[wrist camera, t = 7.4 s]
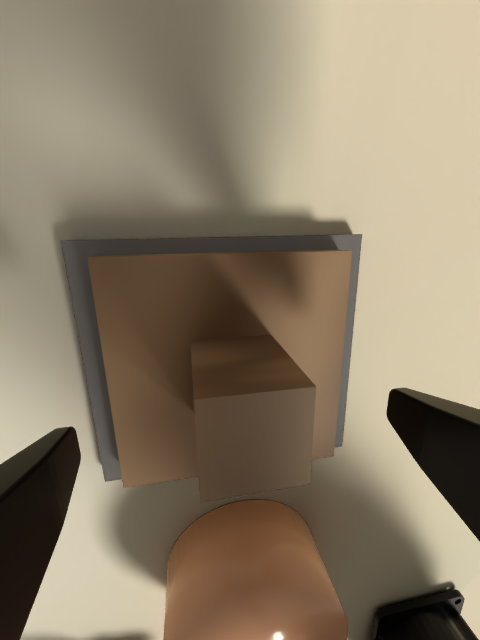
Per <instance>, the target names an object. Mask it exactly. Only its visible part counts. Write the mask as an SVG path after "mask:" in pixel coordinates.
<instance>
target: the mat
mask: <svg viewBox="0 0 480 640" xmlns="http://www.w3.org/2000/svg"><path fill="white" fill-rule="evenodd" d="M361 240H362V234H352V235H304V236H257V237H209V238H161V239H113V240H67V241H61V244H62V250H63V255H64V260H65V266H66V271H67V277H68V282H69V288H70V293H71V299H72V304H73V310H74V315H75V321H76V326H77V332H78V337H79V342H80V348H81V353H82V359H83V364H84V370H85V375H86V381H87V386H88V392H89V397H90V403H91V408H92V414H93V419H94V424H95V430H96V435H97V441H98V446H99V452H100V457H101V463H102V468H103V474H104V479H105V482H106V481H113V480H119V479H122V475H121V468H120V462H119V455H118V449H117V443H116V436H115V430H114V424H113V417H112V411H111V404H110V398H109V392H108V385H107V379H106V372H105V366H104V360H103V353H102V347H101V341H100V334H99V328H98V321H97V315H96V309H95V302H94V296H93V289H92V283H91V277H90V270H89V264H88V258H89V257H93V256H105V255H144V254H184V253H223V252H262V251H302V250H348V251H352V258H351V269H350V280H349V292H348V303H347V314H346V325H345V336H344V347H343V358H342V369H341V381H340V392H339V403H338V414H337V425H336V436H335V447H340V446H342V442H343V431H344V421H345V410H346V399H347V389H348V378H349V368H350V357H351V346H352V336H353V325H354V314H355V304H356V293H357V283H358V272H359V261H360V251H361Z"/></svg>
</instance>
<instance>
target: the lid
mask: <svg viewBox="0 0 480 640" xmlns="http://www.w3.org/2000/svg"><path fill="white" fill-rule="evenodd" d="M351 258H352V251H348V250H302V251H262V252H223V253H184V254H144V255H105V256H93V257H89V258H88V264H89V270H90V277H91V283H92V289H93V296H94V302H95V309H96V315H97V321H98V328H99V334H100V341H101V347H102V353H103V360H104V366H105V372H106V379H107V385H108V392H109V398H110V404H111V411H112V417H113V424H114V430H115V436H116V443H117V449H118V455H119V462H120V468H121V475H122V481H123V487H124V488H126V487H132V486H139V485H146V484H152V483H159V482H166V481H172V480H179V479H185V478H192V477H199V488H200V502H205V501H211V500H218V499H224V498H230V497H236V496H242V495H248V494H254V493H260V492H266V491H272V490H278V489H284V488H290V487H296V486H302V485H308V484H310V476H311V461H312V459H318V458H325V457H331V456H334V447H335V436H336V425H337V414H338V403H339V392H340V381H341V369H342V358H343V347H344V336H345V325H346V314H347V303H348V292H349V280H350V269H351Z"/></svg>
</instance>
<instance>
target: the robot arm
mask: <svg viewBox="0 0 480 640" xmlns="http://www.w3.org/2000/svg"><path fill="white" fill-rule="evenodd" d="M387 418H388V420H389V422H390V424H391V425H392V427H393V428H394V430H395V431H396V433H397V434H398V435H399V437H400V438H401V440H402V441H403V443H404V444H405V446H406V447H407V449H408V450H409V452H410V453H411V455H412V456H413V458H414V459H415V461H416V462H417V464H418V465H419V466H420V468H421V469H422V470H423V471H424V473H425V474H426V475H427V477H428V478H429V479H430V480H431V481H432V483H433V484H434V485H435V486H436V488H437V489H438V490H439V491H440V493H441V494H442V495H443V496H444V498H445V499H446V500H447V501H448V503H449V504H450V505H451V506H452V508H453V509H454V510H455V511H456V513H457V514H458V515H459V516H460V518H461V519H462V520H463V521H464V523H465V524H466V525H467V526H468V528H469V529H470V530H471V531H472V533H473V534H474V535H475V536H476V538H477V539H478V540H479V541H480V410H479V409H476V408H473V407H469V406H466V405H462V404H459V403H456V402H452V401H449V400H445V399H442V398H439V397H435V396H432V395H428V394H425V393H422V392H418V391H415V390H411V389H408V388H396V389H392V390H391V391H390V393H389V399H388V406H387ZM80 460H81V454H80V448H79V443H78V439H77V434H76V430H75V428H73V427H64V428H57V429H54V430H53V431H51V432H50V433H48V434H47V435H45V436H44V437H42V438H40V439H39V440H37V441H36V442H34V443H33V444H31V445H30V446H28V447H27V448H25V449H23V450H22V451H20V452H19V453H17V454H16V455H14V456H13V457H11V458H10V459H8V460H7V461H5V462H3V463H2V464H0V640H20V638H21V635H22V632H23V630H24V627H25V625H26V622H27V619H28V617H29V614H30V611H31V609H32V606H33V604H34V601H35V598H36V596H37V593H38V590H39V588H40V585H41V583H42V580H43V577H44V575H45V572H46V569H47V567H48V564H49V562H50V559H51V556H52V554H53V551H54V548H55V546H56V543H57V541H58V538H59V535H60V532H61V530H62V527H63V524H64V521H65V517H66V514H67V510H68V506H69V502H70V499H71V495H72V491H73V487H74V484H75V480H76V476H77V472H78V469H79V465H80ZM463 603H464V597H463V596H462V594H461V593H460V592H459V591H458V590H452V591H448V592H444V593H440V594H436V595H432V596H428V597H424V598H420V599H416V600H412V601H408V602H405V603H401V604H397V605H393V606H389V607H385V608H381V609H379V610H378V611H377V612H376V613H375V615H374V622H373V628H372V634H371V640H478V638H477V637H476V636H475V634H474V633H473V631H472V630H471V629H470V627H469V626H468V625H467V623H466V622H465V620H464V619H463V618H462V616H461V615H460V613H461V610H462V606H463Z"/></svg>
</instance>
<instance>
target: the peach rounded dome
mask: <svg viewBox="0 0 480 640" xmlns="http://www.w3.org/2000/svg"><path fill="white" fill-rule="evenodd" d="M347 634H348V624H347V618H346V616H345V613H344V611H343V608H342V606H341V604H340V601H339V599H338V597H337V594H336V592H335V590H334V587H333V585H332V582H331V580H330V578H329V575H328V573H327V571H326V568H325V566H324V563H323V561H322V559H321V556H320V554H319V552H318V549H317V547H316V545H315V542H314V540H313V537H312V535H311V533H310V530H309V528H308V526H307V524H306V522H305V521H304V519H303V518H302V517H301V516H300V515H299V514H298V513H297V512H296V511H295V510H293V509H292V508H290V507H288V506H286V505H283V504H281V503H278V502H274V501H268V500H245V501H239V502H234V503H230V504H227V505H224V506H221V507H219V508H217V509H214V510H212V511H210V512H208V513H207V514H205V515H203V516H202V517H200V518H199V519H197V520H196V521H195V522H193V523H192V524H191V525H190V526H189V527H188V528H187V529H186V530H185V531H184V532H183V533H182V534H181V535H180V537H179V538H178V540H177V541H176V543H175V544H174V546H173V548H172V550H171V553H170V556H169V559H168V566H167V585H166V604H165V623H164V640H346V639H347Z"/></svg>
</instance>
